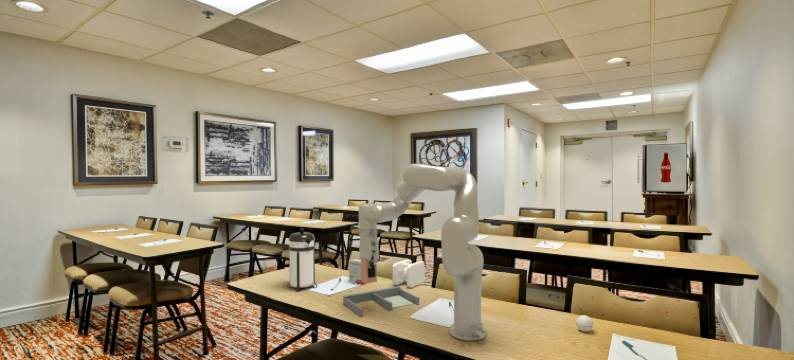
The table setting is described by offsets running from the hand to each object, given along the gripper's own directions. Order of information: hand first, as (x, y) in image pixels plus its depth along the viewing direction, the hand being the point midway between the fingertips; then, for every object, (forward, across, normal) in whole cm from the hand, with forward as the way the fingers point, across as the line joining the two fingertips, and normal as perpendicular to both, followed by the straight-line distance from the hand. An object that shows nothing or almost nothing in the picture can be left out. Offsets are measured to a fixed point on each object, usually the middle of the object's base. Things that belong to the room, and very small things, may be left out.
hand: (368, 275), depth 164 cm
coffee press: (+13, +45, +16) cm, 49 cm away
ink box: (+14, +37, -12) cm, 41 cm away
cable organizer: (+14, +21, -32) cm, 41 cm away
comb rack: (+14, +1, -6) cm, 15 cm away
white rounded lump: (+16, -61, -55) cm, 84 cm away
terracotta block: (+3, 0, 0) cm, 3 cm away
